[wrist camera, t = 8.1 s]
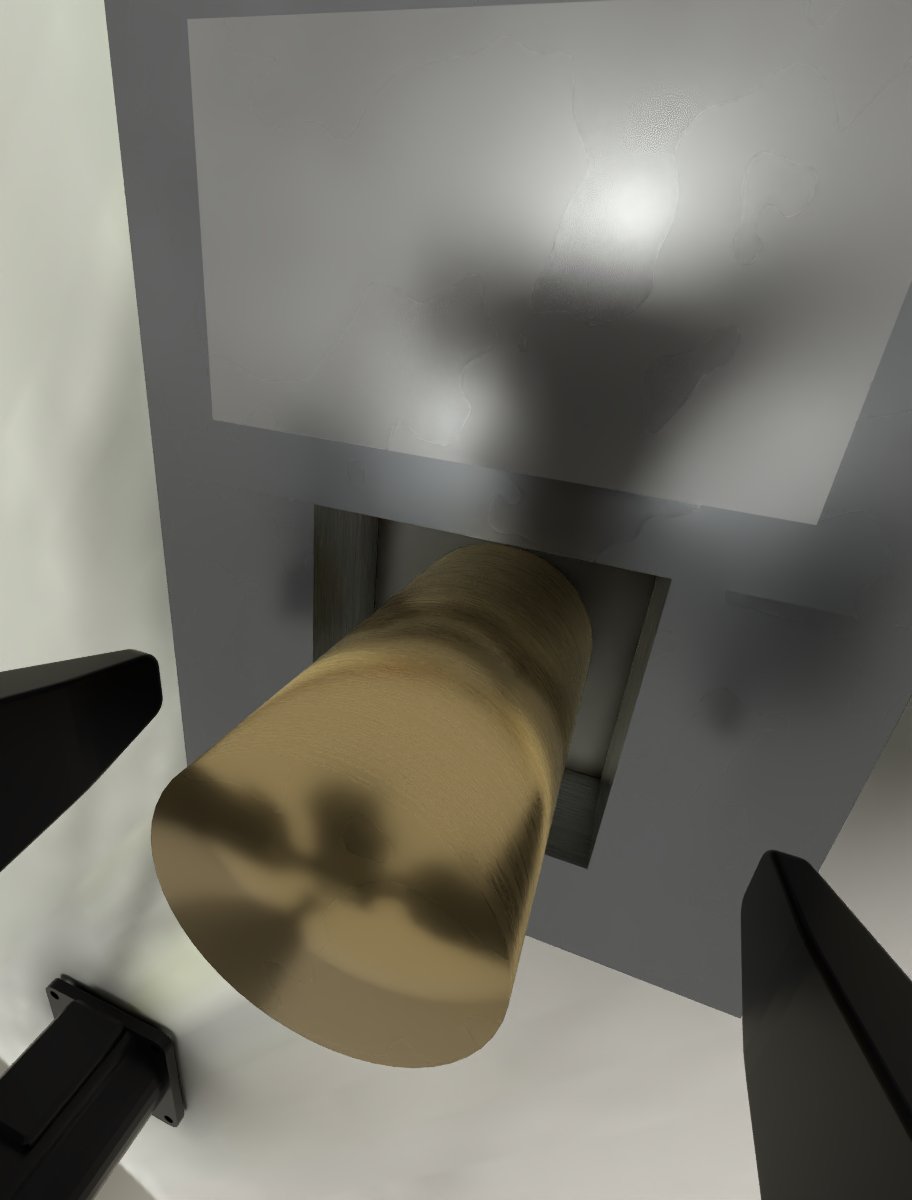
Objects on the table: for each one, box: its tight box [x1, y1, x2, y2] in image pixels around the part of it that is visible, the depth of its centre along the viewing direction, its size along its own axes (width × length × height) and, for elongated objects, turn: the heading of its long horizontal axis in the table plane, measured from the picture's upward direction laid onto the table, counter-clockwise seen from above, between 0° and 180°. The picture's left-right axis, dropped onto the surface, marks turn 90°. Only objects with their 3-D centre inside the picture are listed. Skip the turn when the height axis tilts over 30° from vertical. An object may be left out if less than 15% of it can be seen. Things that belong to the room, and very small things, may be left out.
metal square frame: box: [104, 0, 912, 1018], centre depth 9 cm, size 14×12×3 cm
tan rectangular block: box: [151, 544, 592, 1068], centre depth 9 cm, size 4×4×7 cm
